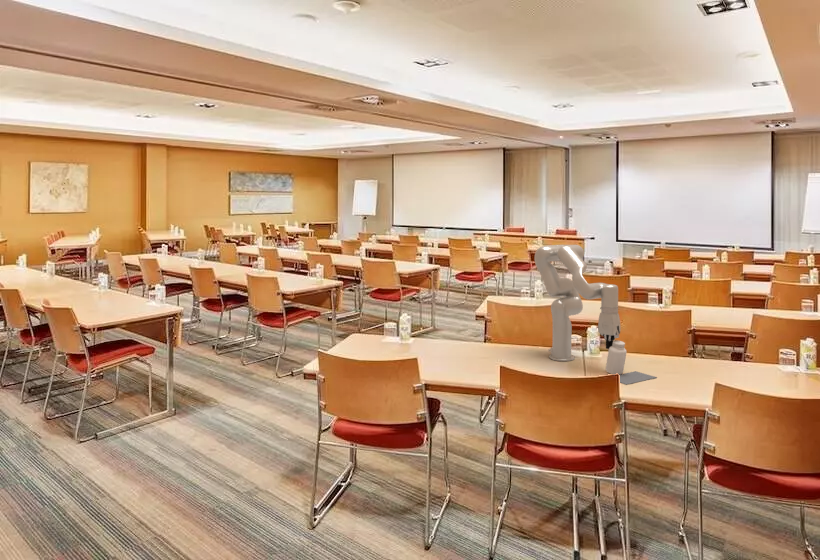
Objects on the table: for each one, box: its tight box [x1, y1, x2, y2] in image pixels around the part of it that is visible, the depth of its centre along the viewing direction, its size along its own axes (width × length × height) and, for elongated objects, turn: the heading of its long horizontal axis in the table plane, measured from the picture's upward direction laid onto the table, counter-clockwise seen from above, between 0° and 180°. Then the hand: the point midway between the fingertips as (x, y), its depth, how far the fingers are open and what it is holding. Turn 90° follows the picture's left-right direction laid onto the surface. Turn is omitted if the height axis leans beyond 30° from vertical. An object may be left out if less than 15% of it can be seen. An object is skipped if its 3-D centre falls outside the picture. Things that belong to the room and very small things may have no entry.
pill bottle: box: [605, 339, 627, 375], centre depth 276 cm, size 8×8×15 cm
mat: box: [619, 371, 658, 386], centre depth 269 cm, size 12×20×1 cm, turn 119°
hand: (609, 348), depth 279 cm, fingers closed
